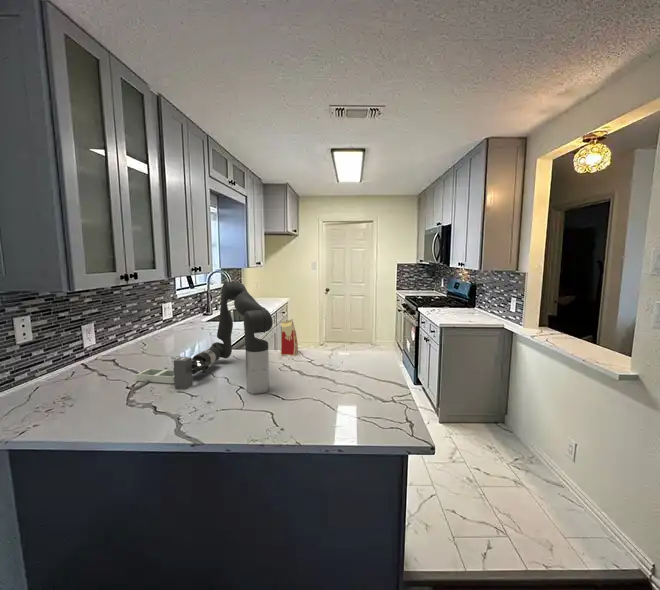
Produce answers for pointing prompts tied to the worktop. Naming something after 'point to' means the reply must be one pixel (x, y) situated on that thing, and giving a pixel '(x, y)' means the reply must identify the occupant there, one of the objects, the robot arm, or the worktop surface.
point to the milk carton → (289, 339)
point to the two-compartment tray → (155, 377)
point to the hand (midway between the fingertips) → (183, 371)
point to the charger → (183, 372)
